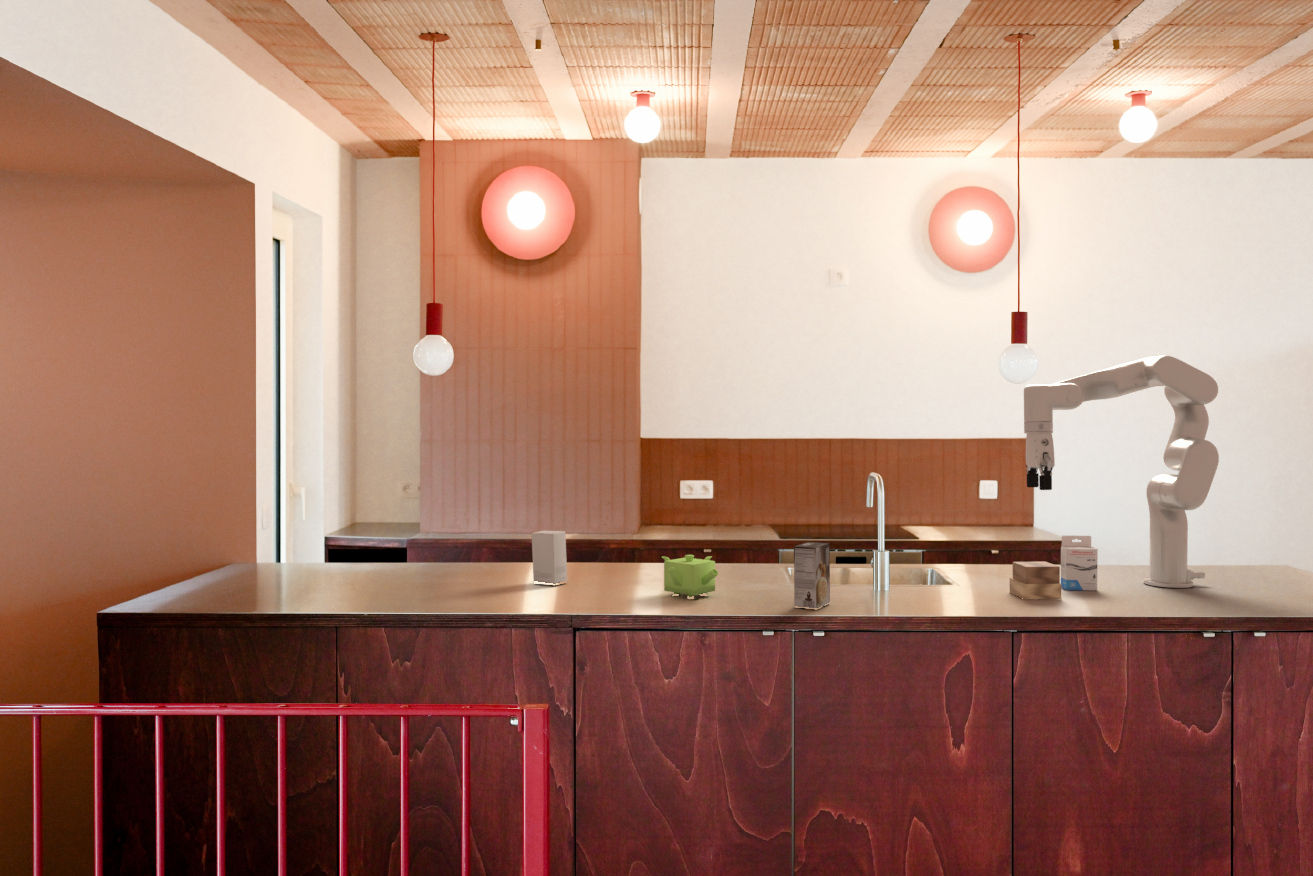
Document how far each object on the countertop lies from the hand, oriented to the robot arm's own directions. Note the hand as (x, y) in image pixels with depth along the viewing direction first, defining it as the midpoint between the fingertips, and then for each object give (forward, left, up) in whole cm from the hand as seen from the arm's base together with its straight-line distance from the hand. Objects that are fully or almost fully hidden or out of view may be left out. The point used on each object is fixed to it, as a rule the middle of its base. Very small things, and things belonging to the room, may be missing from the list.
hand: (1039, 488), depth 267 cm
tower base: (+6, +14, -28) cm, 32 cm away
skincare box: (+140, -7, -28) cm, 143 cm away
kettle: (+99, +11, -28) cm, 104 cm away
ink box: (-10, +4, -28) cm, 30 cm away
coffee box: (+68, +27, -28) cm, 78 cm away
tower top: (+6, +14, -24) cm, 28 cm away
